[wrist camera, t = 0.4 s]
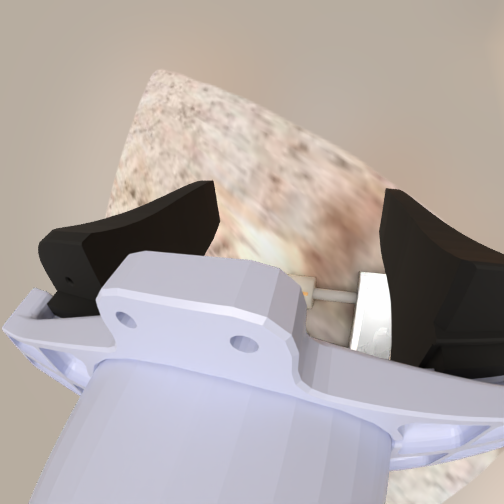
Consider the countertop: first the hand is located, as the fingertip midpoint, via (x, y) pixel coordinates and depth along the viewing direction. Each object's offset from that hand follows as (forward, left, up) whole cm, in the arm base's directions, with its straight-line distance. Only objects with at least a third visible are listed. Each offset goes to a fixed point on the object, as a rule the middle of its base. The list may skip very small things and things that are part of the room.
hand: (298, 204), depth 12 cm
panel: (-9, -6, -28) cm, 30 cm away
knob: (-6, +1, -27) cm, 27 cm away
